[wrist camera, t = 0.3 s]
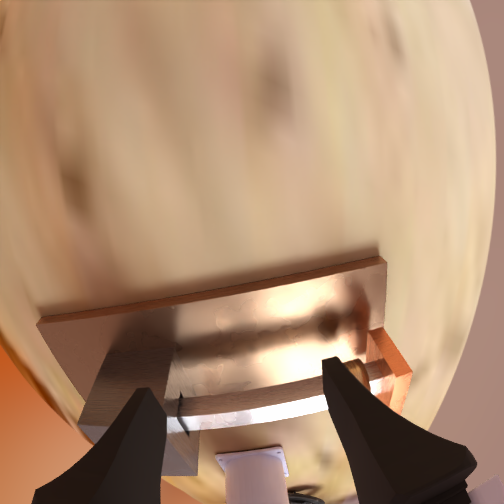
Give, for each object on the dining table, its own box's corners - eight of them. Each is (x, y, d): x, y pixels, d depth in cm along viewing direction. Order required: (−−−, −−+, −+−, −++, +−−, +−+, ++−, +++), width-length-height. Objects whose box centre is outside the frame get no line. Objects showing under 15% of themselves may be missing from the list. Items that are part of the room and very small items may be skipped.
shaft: (382, 326, 20) (412, 371, 15) (377, 372, 22) (400, 415, 17) (128, 372, 20) (112, 422, 15) (153, 411, 22) (144, 458, 17)
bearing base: (379, 255, 20) (446, 321, 12) (371, 382, 26) (403, 449, 18) (42, 317, 21) (-7, 382, 13) (108, 419, 26) (91, 482, 18)
